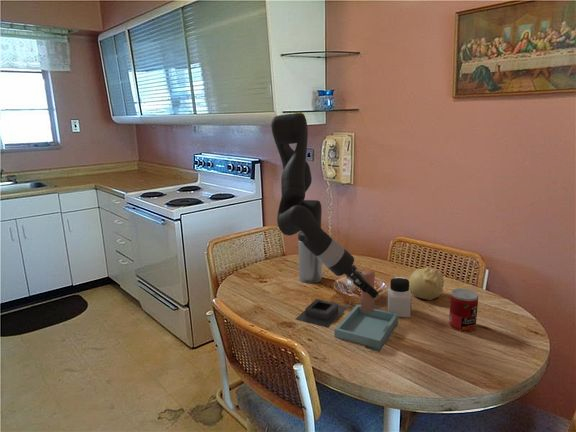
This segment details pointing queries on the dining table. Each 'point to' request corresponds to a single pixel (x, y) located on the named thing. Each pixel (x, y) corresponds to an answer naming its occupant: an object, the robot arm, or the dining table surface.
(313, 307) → the holder
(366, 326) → the tray
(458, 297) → the canned food
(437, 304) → the dining table surface
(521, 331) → the dining table surface
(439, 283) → the pale yellow round lump
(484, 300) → the dining table surface
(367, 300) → the dowel
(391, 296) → the medicine bottle
